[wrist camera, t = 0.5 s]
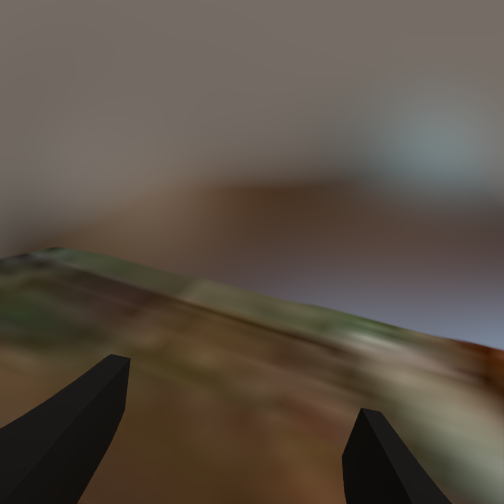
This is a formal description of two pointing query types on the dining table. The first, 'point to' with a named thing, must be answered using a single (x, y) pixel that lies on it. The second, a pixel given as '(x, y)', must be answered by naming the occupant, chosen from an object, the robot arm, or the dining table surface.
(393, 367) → the dining table surface
